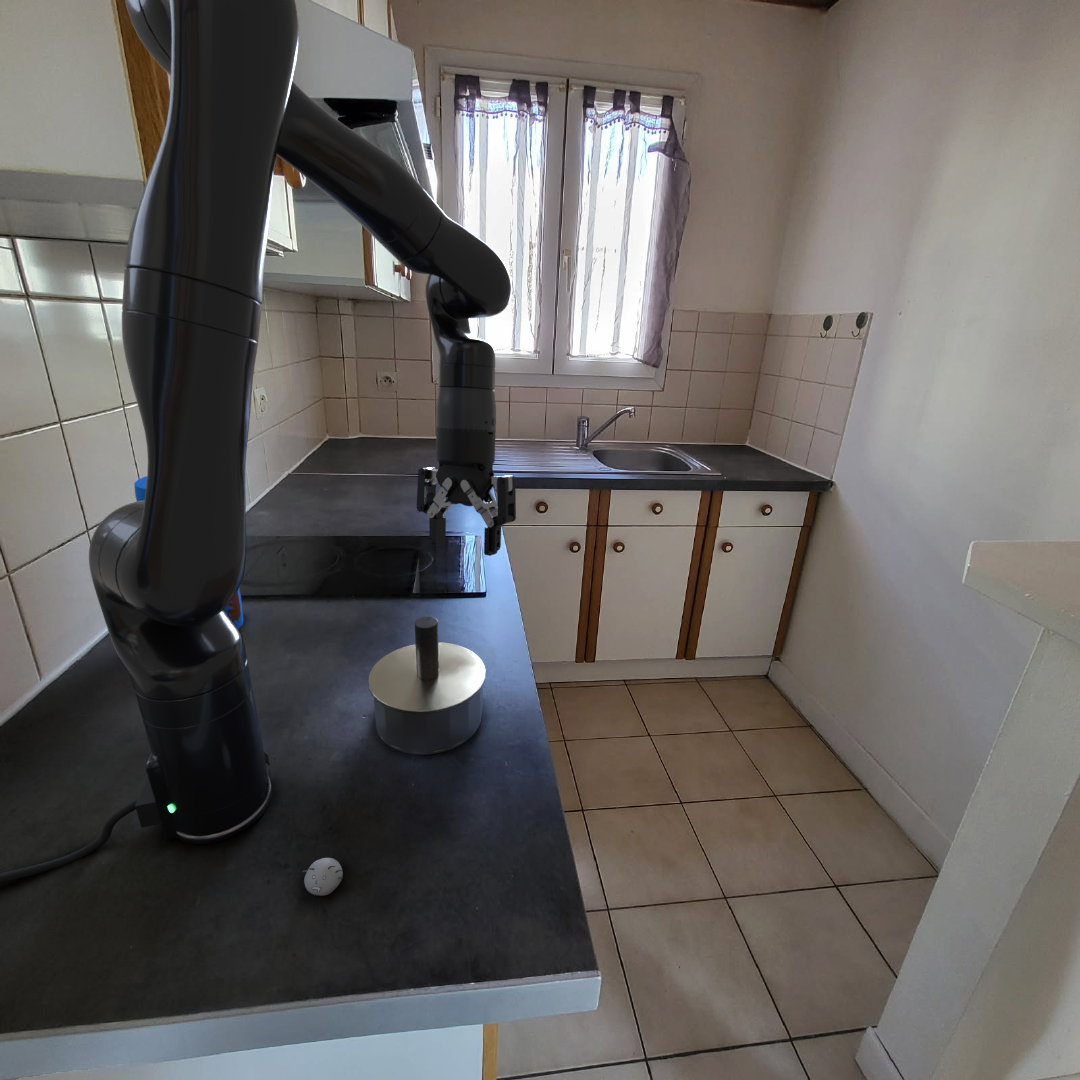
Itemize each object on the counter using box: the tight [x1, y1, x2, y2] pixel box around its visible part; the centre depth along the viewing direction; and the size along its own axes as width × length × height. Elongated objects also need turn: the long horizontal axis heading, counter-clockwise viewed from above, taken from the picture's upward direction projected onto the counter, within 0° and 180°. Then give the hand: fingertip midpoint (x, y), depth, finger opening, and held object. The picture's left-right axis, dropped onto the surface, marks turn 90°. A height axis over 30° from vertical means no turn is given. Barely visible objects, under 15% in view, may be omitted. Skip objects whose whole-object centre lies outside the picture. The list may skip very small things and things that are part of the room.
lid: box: [367, 615, 487, 715], centre depth 70 cm, size 15×15×9 cm
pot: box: [373, 686, 484, 756], centre depth 72 cm, size 14×14×6 cm
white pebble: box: [301, 857, 344, 897], centre depth 51 cm, size 3×4×3 cm
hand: (464, 549), depth 74 cm, fingers open, 8 cm apart
